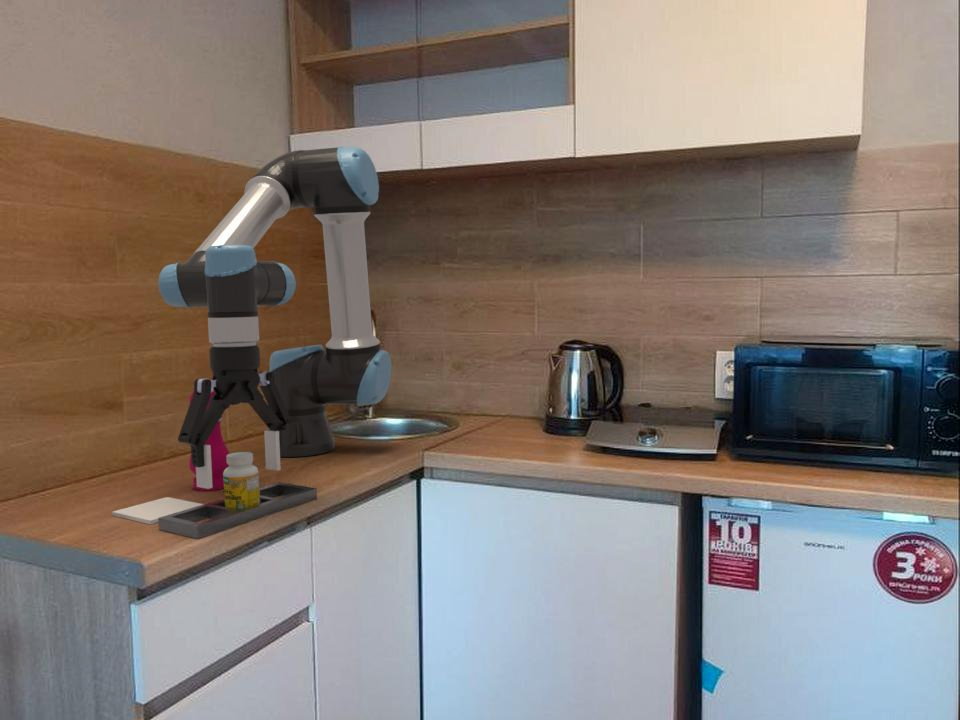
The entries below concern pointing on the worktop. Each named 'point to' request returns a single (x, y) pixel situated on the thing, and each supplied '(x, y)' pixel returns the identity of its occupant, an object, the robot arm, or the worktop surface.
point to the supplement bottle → (241, 481)
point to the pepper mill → (214, 456)
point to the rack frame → (235, 511)
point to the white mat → (154, 509)
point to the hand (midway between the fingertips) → (240, 478)
